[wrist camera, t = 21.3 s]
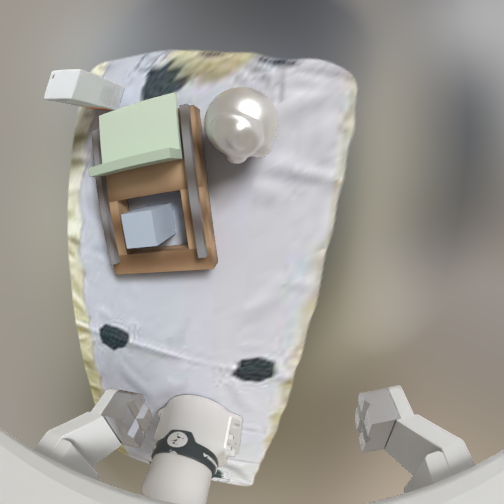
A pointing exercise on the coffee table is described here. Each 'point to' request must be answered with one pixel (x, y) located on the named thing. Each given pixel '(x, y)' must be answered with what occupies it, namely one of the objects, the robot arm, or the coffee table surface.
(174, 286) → the coffee table surface
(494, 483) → the robot arm
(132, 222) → the block
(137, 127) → the lid
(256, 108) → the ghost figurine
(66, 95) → the skincare box
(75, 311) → the coffee table surface
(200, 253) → the wooden box frame
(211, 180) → the coffee table surface
